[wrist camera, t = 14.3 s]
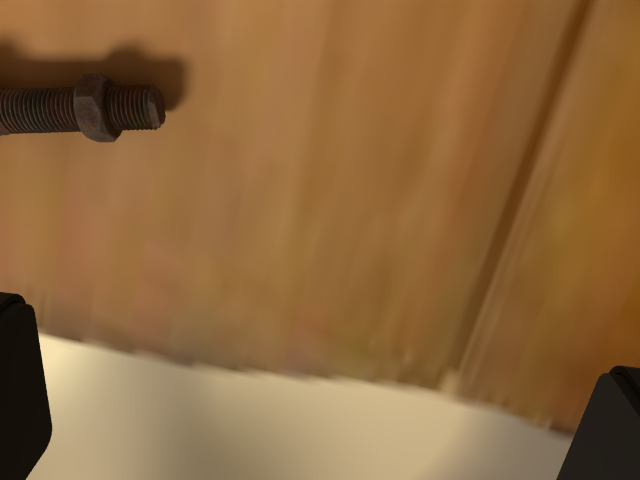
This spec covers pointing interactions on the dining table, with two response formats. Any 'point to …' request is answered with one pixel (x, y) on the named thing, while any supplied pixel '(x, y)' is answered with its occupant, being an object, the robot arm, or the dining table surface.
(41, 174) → the dining table surface
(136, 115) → the bolt
